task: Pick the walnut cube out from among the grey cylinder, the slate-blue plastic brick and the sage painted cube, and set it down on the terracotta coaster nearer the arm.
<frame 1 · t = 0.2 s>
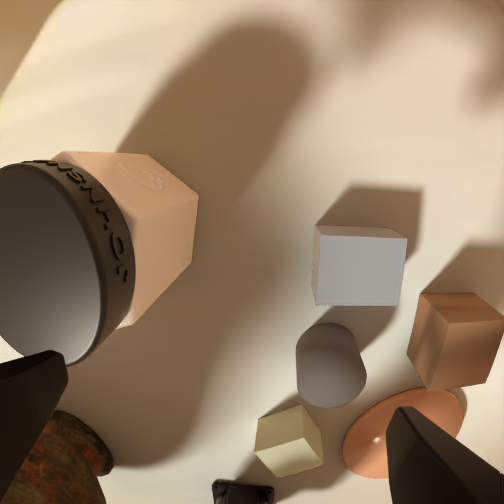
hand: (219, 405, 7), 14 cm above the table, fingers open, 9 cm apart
sage cube: (290, 425, 25), on the table
jar: (142, 220, 21), on the table
coaster: (404, 435, 24), on the table
pitcher: (81, 452, 29), on the table
grey cylinder: (325, 349, 22), on the table
walnut block: (440, 323, 21), on the table
plastic brick: (350, 256, 21), on the table
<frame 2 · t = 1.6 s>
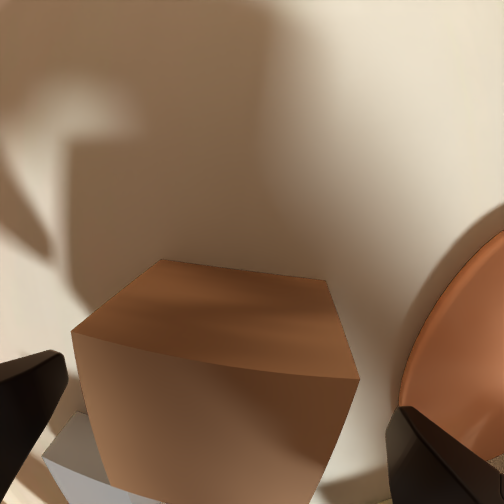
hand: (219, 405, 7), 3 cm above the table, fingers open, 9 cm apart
walnut block: (234, 342, 10), on the table
plastic brick: (122, 454, 13), on the table
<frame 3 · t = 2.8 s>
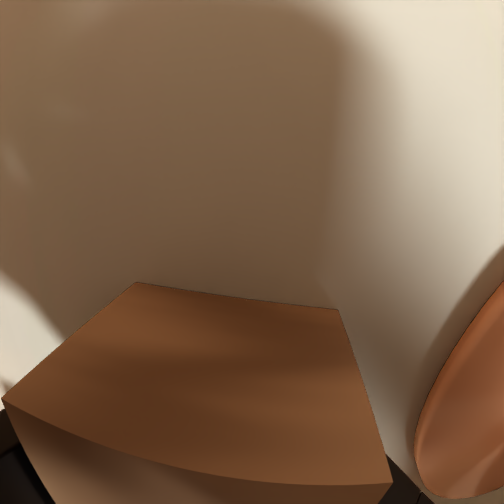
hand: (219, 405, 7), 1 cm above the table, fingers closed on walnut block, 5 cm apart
walnut block: (226, 380, 8), on the table, touching gripper
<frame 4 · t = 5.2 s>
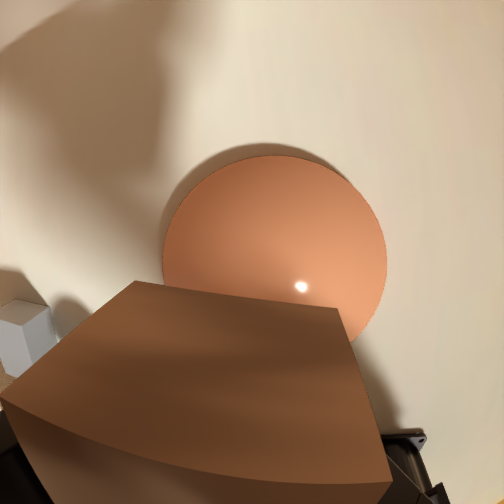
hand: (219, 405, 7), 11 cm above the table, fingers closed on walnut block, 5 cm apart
coaster: (274, 269, 17), on the table
walnut block: (225, 379, 8), point 10 cm above the table, touching gripper
plastic brick: (38, 331, 21), on the table
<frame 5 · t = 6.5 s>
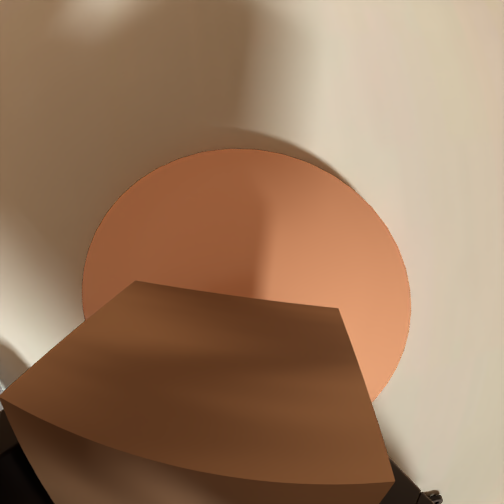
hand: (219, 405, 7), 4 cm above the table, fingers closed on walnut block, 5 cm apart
coaster: (239, 324, 11), on the table
walnut block: (225, 380, 8), point 3 cm above the table, touching gripper
when the fingers open (3 cm above the table, at t = 7.6 s): walnut block stays where it is, resting on coaster.
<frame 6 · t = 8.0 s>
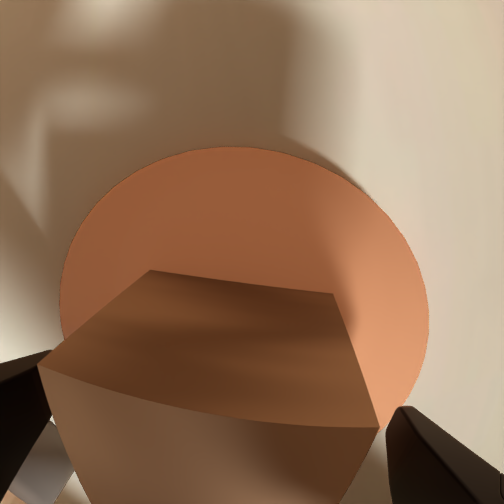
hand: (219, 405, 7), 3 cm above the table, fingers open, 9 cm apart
jar: (17, 488, 17), on the table
coaster: (234, 348, 10), on the table
grey cylinder: (47, 439, 13), on the table
walnut block: (231, 361, 9), point 1 cm above the table, touching coaster
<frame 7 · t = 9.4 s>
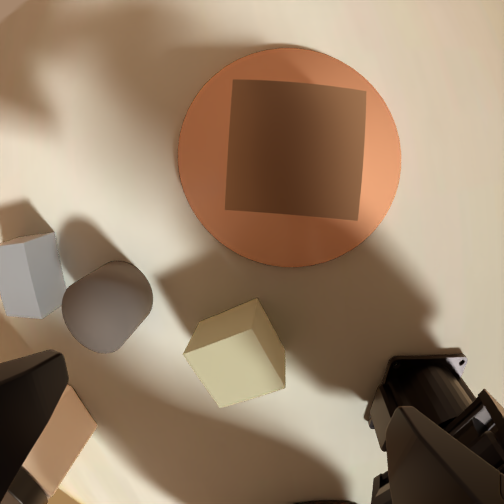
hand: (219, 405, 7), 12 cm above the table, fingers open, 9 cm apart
sage cube: (242, 336, 20), on the table
jar: (59, 405, 24), on the table
coaster: (290, 155, 17), on the table
grey cylinder: (122, 293, 20), on the table
walnut block: (291, 154, 16), point 1 cm above the table, touching coaster
plastic brick: (43, 267, 20), on the table
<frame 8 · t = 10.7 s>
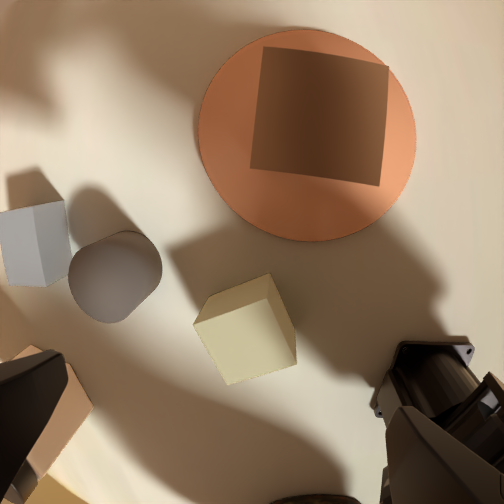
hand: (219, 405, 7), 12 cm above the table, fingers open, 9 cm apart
sage cube: (252, 313, 20), on the table
jar: (55, 385, 24), on the table
coaster: (309, 131, 17), on the table
grey cylinder: (130, 264, 20), on the table
walnut block: (311, 129, 16), point 1 cm above the table, touching coaster
plastic brick: (50, 237, 20), on the table
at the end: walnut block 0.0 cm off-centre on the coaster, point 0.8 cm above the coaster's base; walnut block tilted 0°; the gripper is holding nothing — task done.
